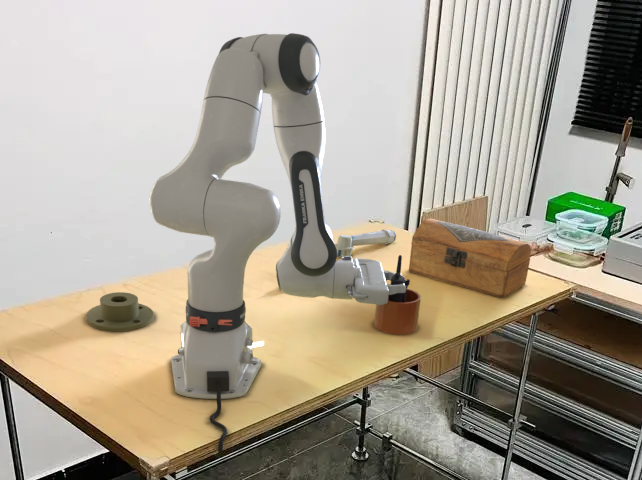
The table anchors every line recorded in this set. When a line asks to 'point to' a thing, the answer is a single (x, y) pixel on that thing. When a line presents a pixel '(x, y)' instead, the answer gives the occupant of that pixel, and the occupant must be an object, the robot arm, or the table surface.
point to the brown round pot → (399, 315)
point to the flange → (119, 313)
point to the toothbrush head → (363, 241)
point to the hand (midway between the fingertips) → (403, 283)
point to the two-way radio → (401, 280)
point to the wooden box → (469, 257)
